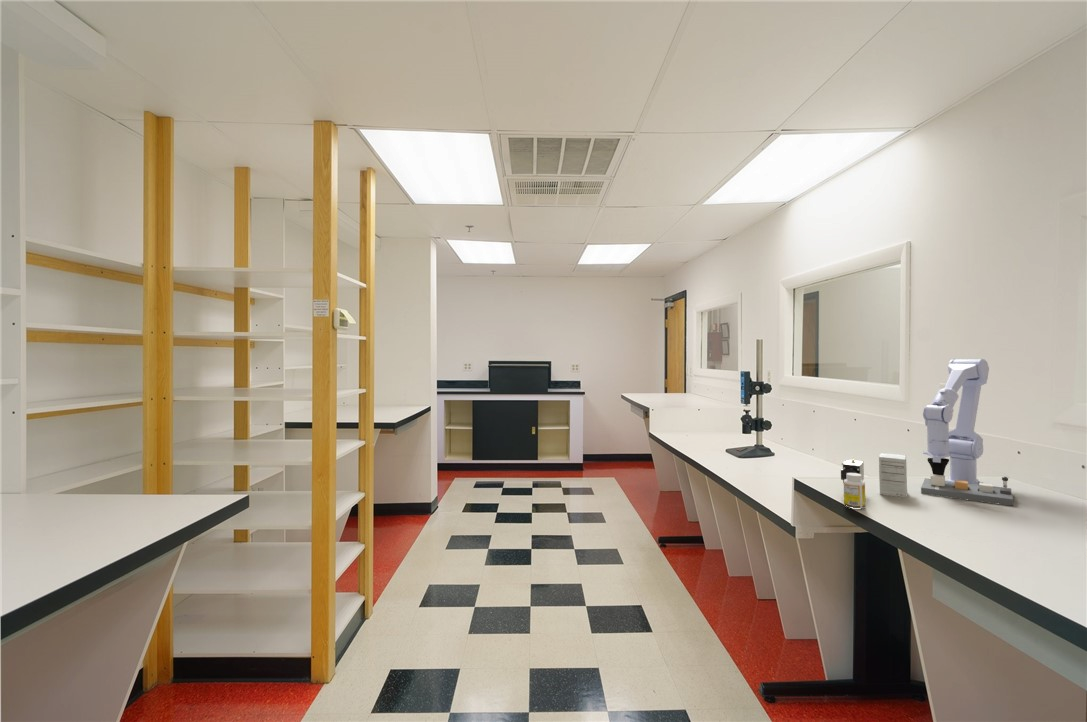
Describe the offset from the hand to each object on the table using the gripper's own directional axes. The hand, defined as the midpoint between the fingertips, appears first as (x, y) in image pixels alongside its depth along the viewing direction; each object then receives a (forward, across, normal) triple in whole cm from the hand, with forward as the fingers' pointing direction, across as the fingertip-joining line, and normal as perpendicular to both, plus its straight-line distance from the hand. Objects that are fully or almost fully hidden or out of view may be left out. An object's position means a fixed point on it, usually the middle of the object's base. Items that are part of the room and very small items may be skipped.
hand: (938, 479), depth 167 cm
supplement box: (+3, +15, -11) cm, 19 cm away
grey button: (+2, +3, +12) cm, 13 cm away
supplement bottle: (+3, +39, -18) cm, 43 cm away
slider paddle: (+1, +4, 0) cm, 4 cm away
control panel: (+3, +3, +7) cm, 8 cm away
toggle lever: (0, +3, +16) cm, 17 cm away
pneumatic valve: (+3, +25, -21) cm, 33 cm away
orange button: (+1, +3, +6) cm, 7 cm away
